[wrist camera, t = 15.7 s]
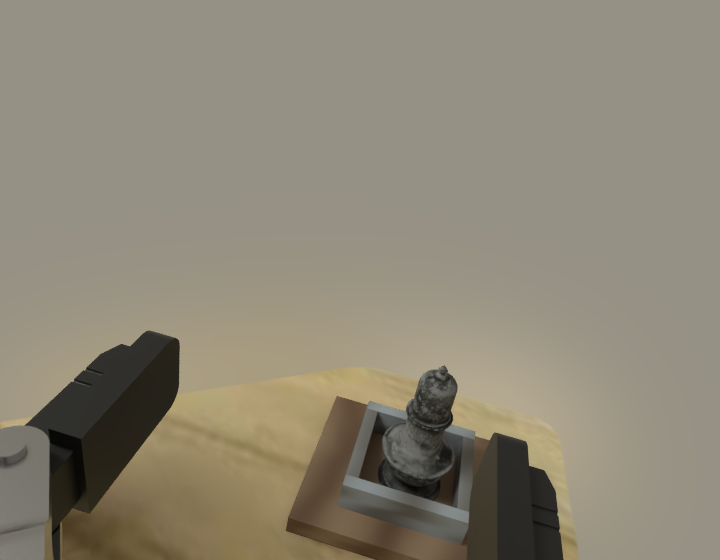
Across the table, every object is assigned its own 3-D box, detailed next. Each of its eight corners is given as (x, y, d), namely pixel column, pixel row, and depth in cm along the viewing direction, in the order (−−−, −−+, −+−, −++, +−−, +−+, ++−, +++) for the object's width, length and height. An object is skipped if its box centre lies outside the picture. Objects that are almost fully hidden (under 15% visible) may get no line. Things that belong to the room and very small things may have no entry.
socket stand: (286, 530, 41) (292, 495, 39) (334, 407, 53) (340, 376, 51) (497, 598, 39) (514, 565, 37) (497, 455, 51) (511, 424, 50)
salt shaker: (365, 453, 47) (393, 341, 41) (428, 448, 49) (464, 340, 43) (385, 513, 42) (420, 396, 36) (454, 504, 44) (499, 391, 38)
